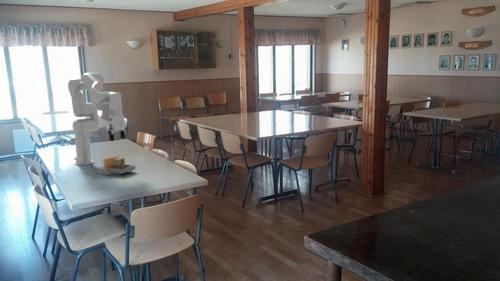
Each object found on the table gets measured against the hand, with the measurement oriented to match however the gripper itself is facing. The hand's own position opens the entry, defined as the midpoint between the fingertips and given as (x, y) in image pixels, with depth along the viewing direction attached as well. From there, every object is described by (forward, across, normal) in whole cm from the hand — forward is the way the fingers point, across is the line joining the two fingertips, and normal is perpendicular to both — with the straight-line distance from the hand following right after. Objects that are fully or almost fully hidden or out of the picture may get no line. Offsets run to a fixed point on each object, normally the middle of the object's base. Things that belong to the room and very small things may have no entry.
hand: (117, 139), depth 258 cm
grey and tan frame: (+22, 0, -1) cm, 22 cm away
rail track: (+22, 0, +3) cm, 22 cm away
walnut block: (+19, 0, 0) cm, 19 cm away
